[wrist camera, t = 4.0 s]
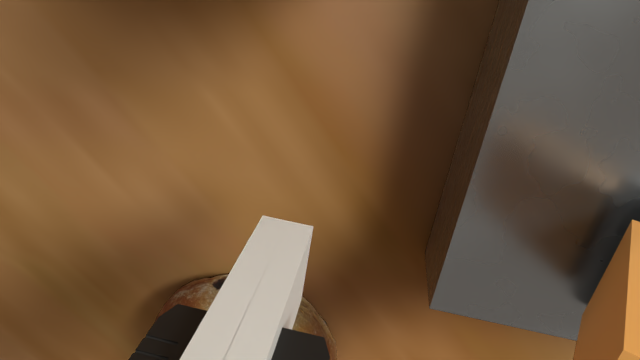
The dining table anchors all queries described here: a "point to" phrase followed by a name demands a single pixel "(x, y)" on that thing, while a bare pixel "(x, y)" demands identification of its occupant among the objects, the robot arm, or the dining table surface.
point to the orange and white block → (614, 307)
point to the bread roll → (208, 288)
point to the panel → (542, 166)
